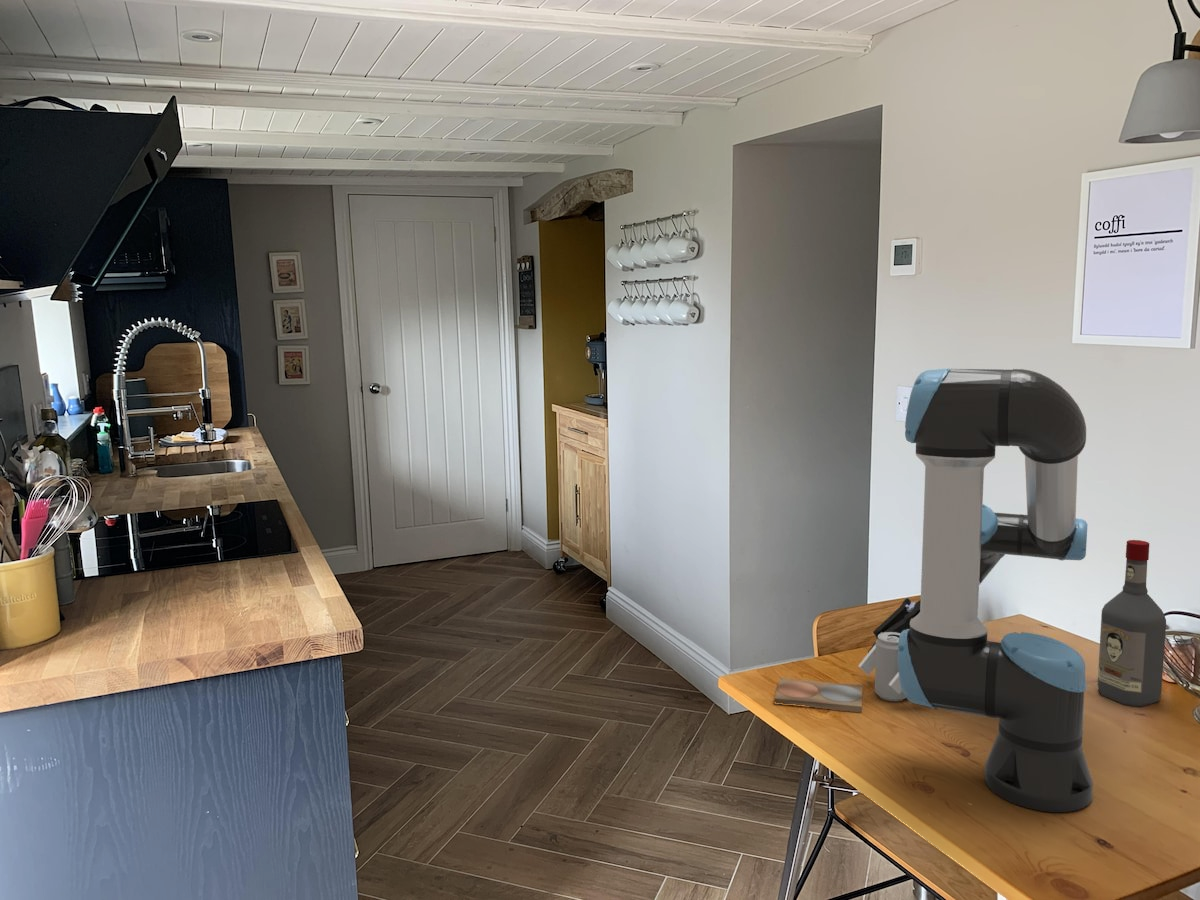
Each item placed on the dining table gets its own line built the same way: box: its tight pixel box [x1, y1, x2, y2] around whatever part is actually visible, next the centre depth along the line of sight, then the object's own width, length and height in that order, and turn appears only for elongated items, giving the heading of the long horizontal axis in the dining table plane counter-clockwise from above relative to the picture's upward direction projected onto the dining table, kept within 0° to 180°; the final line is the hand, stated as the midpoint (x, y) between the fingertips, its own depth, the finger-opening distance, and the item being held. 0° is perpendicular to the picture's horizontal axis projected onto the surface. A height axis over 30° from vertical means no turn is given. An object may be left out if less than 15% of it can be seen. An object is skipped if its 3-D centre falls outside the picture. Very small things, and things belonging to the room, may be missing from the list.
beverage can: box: [874, 632, 907, 702], centre depth 175 cm, size 6×6×12 cm
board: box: [774, 677, 864, 714], centre depth 176 cm, size 10×16×1 cm, turn 73°
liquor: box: [1097, 539, 1167, 708], centre depth 171 cm, size 9×9×30 cm
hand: (878, 679), depth 175 cm, fingers open, 9 cm apart
